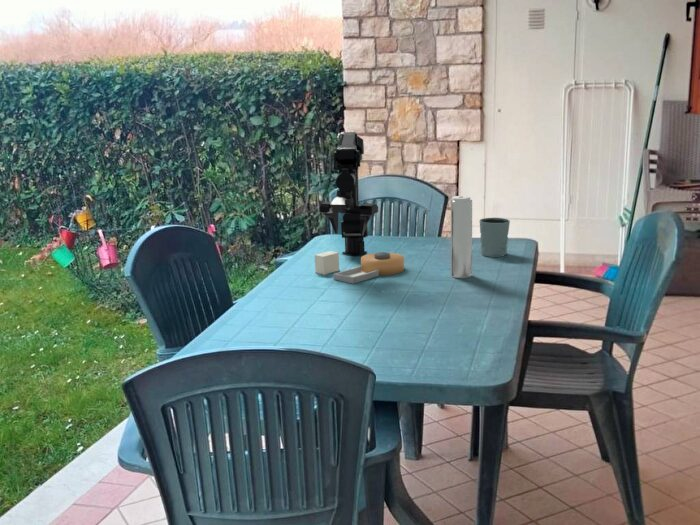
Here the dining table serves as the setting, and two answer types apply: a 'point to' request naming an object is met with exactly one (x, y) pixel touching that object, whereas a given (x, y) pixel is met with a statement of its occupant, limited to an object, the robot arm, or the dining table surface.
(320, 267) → the cream rectangular block
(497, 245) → the grey plant pot
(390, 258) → the orange and grey base
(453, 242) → the white tall cylinder
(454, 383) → the dining table surface
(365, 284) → the dining table surface
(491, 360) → the dining table surface
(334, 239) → the dining table surface
